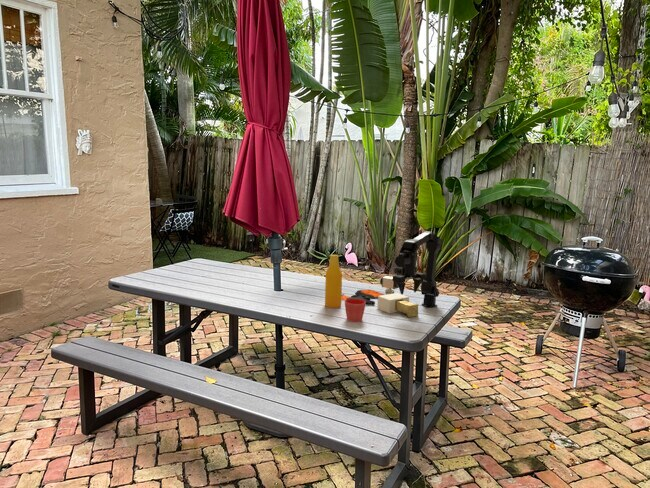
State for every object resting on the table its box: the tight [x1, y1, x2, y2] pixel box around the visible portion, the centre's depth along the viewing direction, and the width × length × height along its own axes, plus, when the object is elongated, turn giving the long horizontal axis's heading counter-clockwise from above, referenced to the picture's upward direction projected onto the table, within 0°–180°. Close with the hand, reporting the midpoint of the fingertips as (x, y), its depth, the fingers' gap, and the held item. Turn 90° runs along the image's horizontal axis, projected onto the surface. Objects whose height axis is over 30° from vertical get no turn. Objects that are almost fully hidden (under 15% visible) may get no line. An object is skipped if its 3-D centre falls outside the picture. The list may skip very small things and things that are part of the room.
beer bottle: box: [324, 254, 343, 309], centre depth 260 cm, size 9×9×29 cm
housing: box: [377, 292, 410, 314], centre depth 258 cm, size 14×10×7 cm
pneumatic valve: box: [379, 275, 399, 295], centre depth 289 cm, size 6×12×12 cm, turn 51°
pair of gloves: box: [341, 289, 385, 306], centre depth 279 cm, size 27×24×3 cm
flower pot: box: [344, 299, 367, 323], centre depth 238 cm, size 11×11×10 cm
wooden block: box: [395, 300, 419, 318], centre depth 252 cm, size 6×17×6 cm, turn 33°
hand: (408, 293), depth 247 cm, fingers open, 9 cm apart
